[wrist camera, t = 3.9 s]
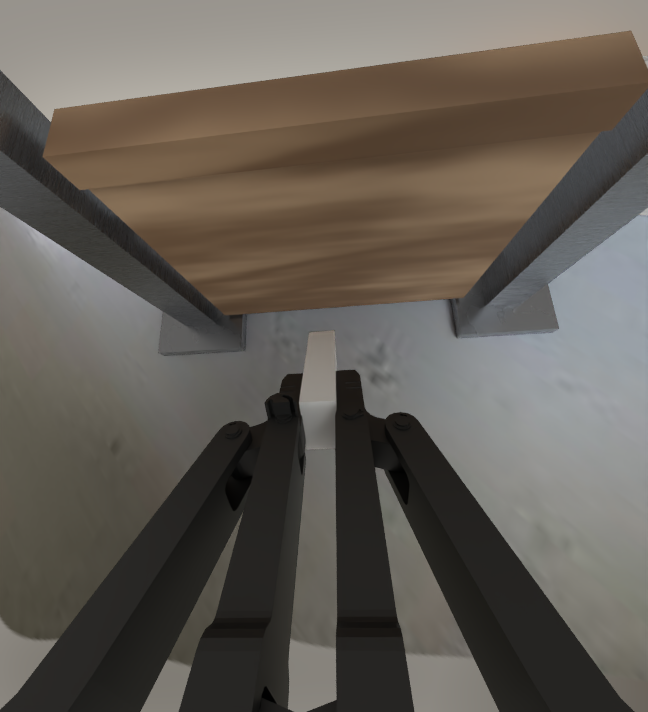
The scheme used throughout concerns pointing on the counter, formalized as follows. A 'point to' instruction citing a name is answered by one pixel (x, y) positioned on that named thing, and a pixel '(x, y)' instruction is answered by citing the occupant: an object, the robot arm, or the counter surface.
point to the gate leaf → (350, 169)
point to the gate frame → (228, 332)
